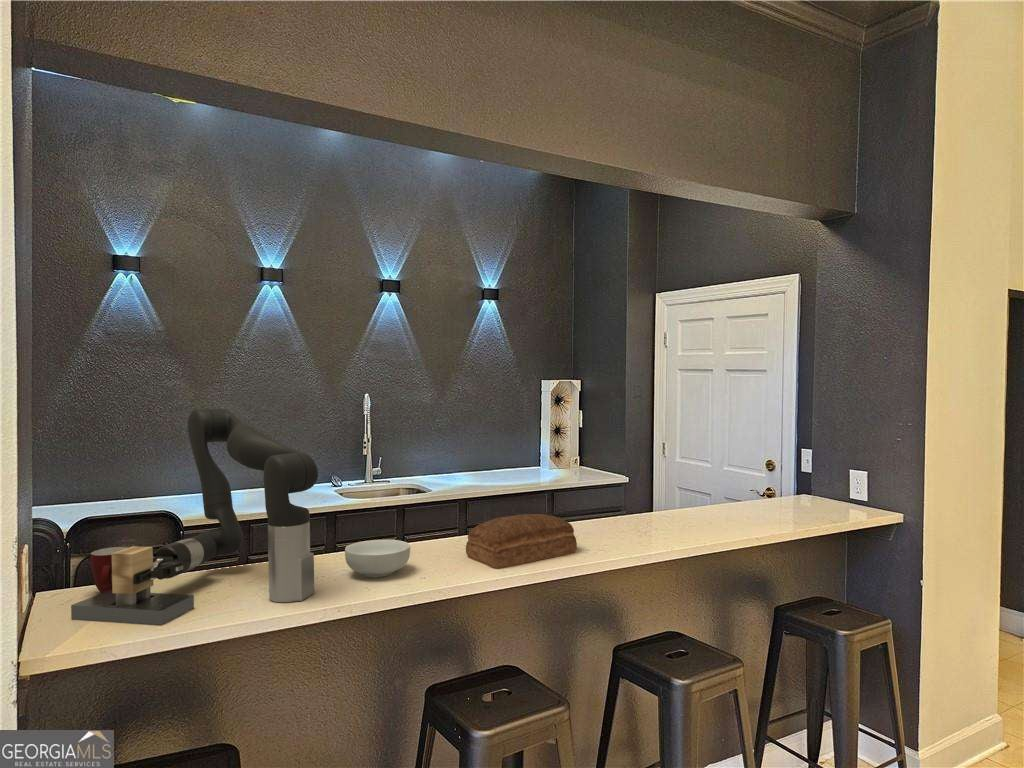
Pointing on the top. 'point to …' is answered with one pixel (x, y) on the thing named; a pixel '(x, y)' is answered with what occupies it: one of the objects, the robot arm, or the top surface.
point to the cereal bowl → (377, 557)
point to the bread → (520, 540)
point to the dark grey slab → (133, 608)
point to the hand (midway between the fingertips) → (123, 579)
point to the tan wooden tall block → (131, 574)
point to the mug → (103, 567)
